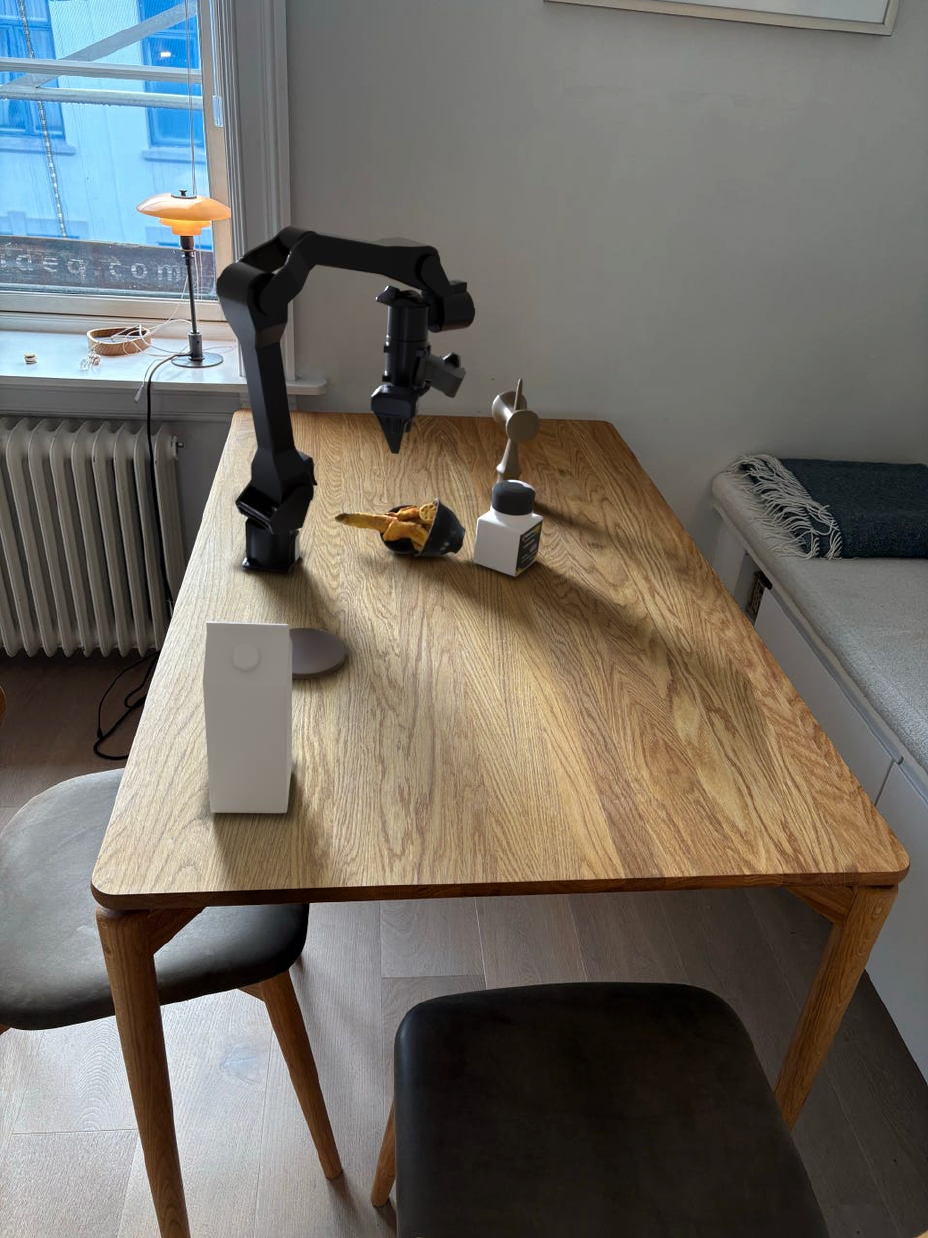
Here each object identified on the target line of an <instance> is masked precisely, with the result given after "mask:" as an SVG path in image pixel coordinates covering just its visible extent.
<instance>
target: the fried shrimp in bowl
mask: <svg viewBox="0 0 928 1238" xmlns="http://www.w3.org/2000/svg"><path fill="white" fill-rule="evenodd" d="M334 521H335V522H336V523H339V524H341V525H345V526H348V527H355V528H357V529H364V530H365V529H368V530H375V531H378V532H379V538H380V540H381V542H382V543H383V545H384V546H385V548H387V549H388V550H389V551H391V552H393V553H397V554H400V555H402V554H403V555H404V554H405V555H406V554H407V555H409V554H413V555H414V557H415V558H419V557H427V558H439V557H443V556H445V555H447V554H450V553H452V554H454V555H457V554H458V553H459V552H460V551H461V549H462V548H463V546H464V538H465V535H466V532H467V530H466V528H465V527H464V526H463V525H462V524H461V521H460V520H459V518H458V516H457V515H456V514H455V512H454V511H453V510H452V509H451V508H449V507H448V506H446V505H445V504H443V503H442V502H441V500H440V498H434V499H433V500H432V501H431V503H427V504H424V505H422V507H419V506H417V505H412V504H402V505H398V506H395V507H393V508H391V509H390V510H388V511H387V512H385V513H384V514H383V515H382V514H380V515H379V514H371V513H365V512H351V513H347V512H340V513H337V514H336V515H335V516H334Z"/></svg>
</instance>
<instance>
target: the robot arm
mask: <svg viewBox="0 0 928 1238" xmlns="http://www.w3.org/2000/svg"><path fill="white" fill-rule="evenodd" d="M316 266H319V267H320V266H321V267H327V268H334V269H341V270H346V271H354V272H361V273H367V274H373V275H377V276H380V277H382V278H384V279H387V280H390V281H392V282H395V283H398V284H401V285H404V286H407V287H410V288H412V289H404V290H403V289H402V290H401V289H400V288H399V287H395V286H393V285H391V284H389V285H387V287H386V288H385V290H383V291H382V292H381V293H380V294H378V295H377V297H376V298H375V302H376V303H377V304H380V305H382V306H385V307H388V309H387V310H388V311H387V312H388V313H387V327H386V342H385V343H384V344H383V352H382V353H384V354H385V364H384V365H385V366H384V372H383V373H382V374H381V382H382V383H389V384H382V385H380V386H379V387H378V388H377V389H375V391H374V392H373V394H372V395H371V396H370V411H371V412H372V414H373V416H375V418H376V420H377V422H378V425H379V426H380V429H381V431H382V435H383V436H384V439H385V441H386V444H387V446H388V448H389V451H390V453H391V454H393V455H399V454H400V451H401V447H402V444H403V440H404V436H405V433H406V434H408V433H410V432H411V429H412V426H413V423H414V419H415V418H416V416H417V415H418V414H419V407H420V401H421V400H420V398H421V397H423V396H424V395H426V394H427V392H429V391H430V389H431V388H433V389H435V390H436V391H439V392H441V393H443V394H444V396H446V397H448V398H450V399H451V398H452V399H454V398H455V397H456V396H457V393H458V391H459V389H460V387H461V386H462V383H463V382H464V378H465V377H466V374H467V371H466V370H465V369H466V368H465V367H464V366H463V367H462V358H461V357H462V356H461V355H459V354H458V353H455V352H454V351H451V352H449V353H448V354H447V355H445V356H444V357H443V356H442V355H439V356H437V355H435V354H433V353H432V344H430V343H431V342H430V341H429V332H431V333H433V334H438V333H446V332H453V331H459V330H465V329H468V328H469V327H471V325H472V324H473V322H474V320H475V317H476V308H475V304H474V303H475V302H474V300H473V297H472V296H471V294H470V292H469V291H468V282H467V281H464V280H461V279H451V280H449V278H448V276H447V273H446V272H445V269H444V267H443V265H442V263H441V256H440V254H439V250H438V248H436V247H435V246H433V245H430V244H426V243H423V242H419V241H416V240H412V239H409V238H405V237H400V236H399V237H398V236H397V237H382V238H380V239H378V240H367V239H366V240H365V239H361V238H354V237H349V236H345V235H344V236H343V235H338V234H333V233H326V232H322V231H315V230H311V229H307V228H306V227H301V226H298V225H295V224H294V225H293V224H292V225H288V226H285V227H283V228H281V230H280V231H279V232H277V233H276V235H274V236H273V237H272V238H271V239H269V240H267V241H265V242H263V243H261V244H259V245H257V246H256V247H253V248H252V249H249V250H248V251H247V252H245V253H244V254H243V255H242V256H241V257H240V258H238V260H237V261H234V262H232V263H230V264H227V266H226V267H224V269H222V271H221V273H220V275H219V276H218V277H217V279H216V283H215V284H216V286H215V287H216V294H217V295H216V296H217V298H218V301H219V304H220V306H221V309H222V313H223V315H224V318H225V321H226V322H227V324H228V325H229V327H230V328H231V330H232V332H233V334H234V335H235V337H236V338H237V340H238V342H239V346H240V350H241V356H242V364H243V369H244V375H245V381H246V386H247V392H248V398H249V404H250V410H251V417H252V422H253V428H254V434H255V440H256V446H257V447H256V451H255V454H254V456H253V458H252V461H251V463H250V480H249V481H248V482H247V485H245V487H244V488H243V490H242V491H241V493H240V494H239V495H238V497H236V499H235V500H234V504H235V506H236V509H237V511H238V513H239V514H240V515H242V516H245V517H246V520H245V521H244V530H245V531H244V533H245V536H244V537H245V558H244V560H243V562H242V563H241V567H242V568H244V569H249V570H250V569H251V570H258V571H265V572H273V573H281V574H288V573H290V571H291V569H292V568H293V566H294V565H295V564H296V563H297V562H298V559H299V558H300V555H301V552H300V551H301V530H300V529H302V528H303V527H304V524H305V521H306V518H307V514H308V511H309V508H310V505H311V502H312V501H313V500H314V497H315V487H317V486H318V484H319V483H318V481H317V480H316V477H315V462H314V458H313V457H311V456H309V455H308V454H306V453H304V452H302V451H300V450H298V449H297V447H296V444H295V443H296V442H295V436H294V430H293V423H292V414H291V408H290V402H289V395H288V387H287V383H286V382H287V381H286V375H285V374H286V373H285V367H284V360H283V353H282V347H281V341H282V337H283V335H284V332H285V330H286V328H287V325H288V322H289V304H290V302H291V301H292V300H293V299H294V298H296V297H297V296H298V295H299V294H300V293H301V292H302V290H303V289H304V286H305V284H306V281H307V279H308V277H309V275H310V272H311V271H312V270H313V269H314V268H315V267H316ZM276 271H277V272H276ZM274 272H276V273H274ZM414 289H416V290H419V291H421V292H420V293H419V292H418V291H416V290H414Z"/></svg>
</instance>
